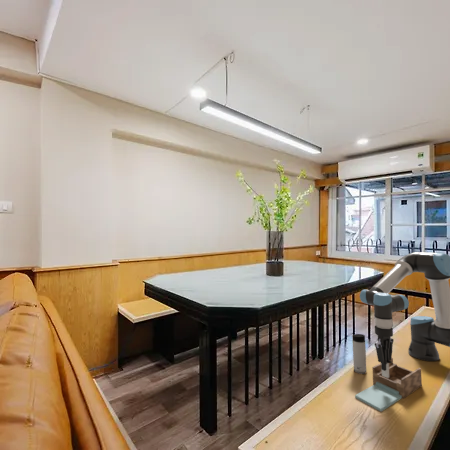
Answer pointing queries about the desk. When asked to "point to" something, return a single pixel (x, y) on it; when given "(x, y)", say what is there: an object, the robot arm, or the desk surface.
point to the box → (398, 378)
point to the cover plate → (379, 396)
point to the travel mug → (359, 353)
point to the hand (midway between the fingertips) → (385, 376)
